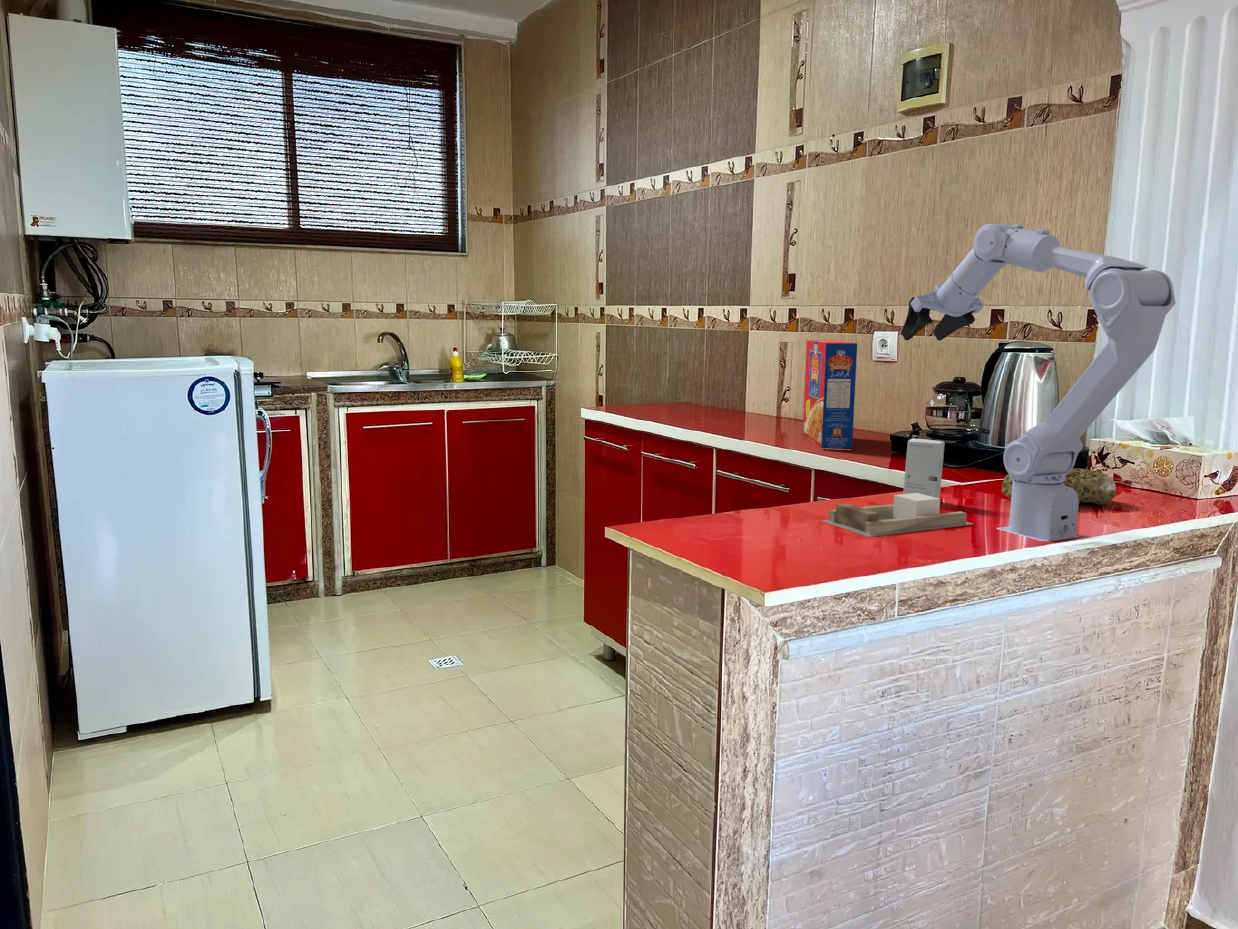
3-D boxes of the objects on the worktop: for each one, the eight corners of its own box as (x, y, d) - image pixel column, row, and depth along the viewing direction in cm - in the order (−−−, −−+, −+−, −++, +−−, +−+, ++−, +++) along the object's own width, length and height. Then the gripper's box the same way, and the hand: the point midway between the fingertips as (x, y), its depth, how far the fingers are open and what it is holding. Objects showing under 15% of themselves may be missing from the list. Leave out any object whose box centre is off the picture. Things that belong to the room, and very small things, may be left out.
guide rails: (965, 523, 147) (966, 505, 147) (869, 534, 139) (870, 516, 139) (920, 511, 157) (922, 494, 156) (828, 520, 149) (829, 503, 148)
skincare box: (901, 505, 164) (905, 440, 162) (906, 501, 168) (910, 437, 166) (936, 509, 161) (940, 443, 159) (940, 504, 165) (945, 440, 163)
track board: (973, 527, 147) (973, 523, 147) (867, 540, 138) (868, 536, 138) (921, 512, 158) (922, 509, 158) (820, 523, 149) (820, 520, 149)
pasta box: (802, 436, 260) (806, 340, 256) (830, 436, 260) (834, 340, 256) (821, 450, 233) (826, 343, 228) (851, 450, 233) (857, 343, 228)
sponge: (1094, 504, 173) (989, 479, 176) (1109, 468, 170) (1002, 443, 173) (1112, 531, 161) (1000, 504, 164) (1129, 493, 158) (1014, 466, 161)
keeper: (938, 522, 148) (940, 498, 148) (915, 524, 146) (916, 501, 146) (915, 515, 153) (917, 492, 152) (892, 518, 151) (894, 495, 150)
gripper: (986, 267, 156) (941, 320, 167) (923, 264, 151) (880, 319, 161) (1006, 296, 153) (958, 349, 163) (941, 294, 147) (896, 348, 157)
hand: (920, 336), depth 162 cm, fingers open, 7 cm apart
